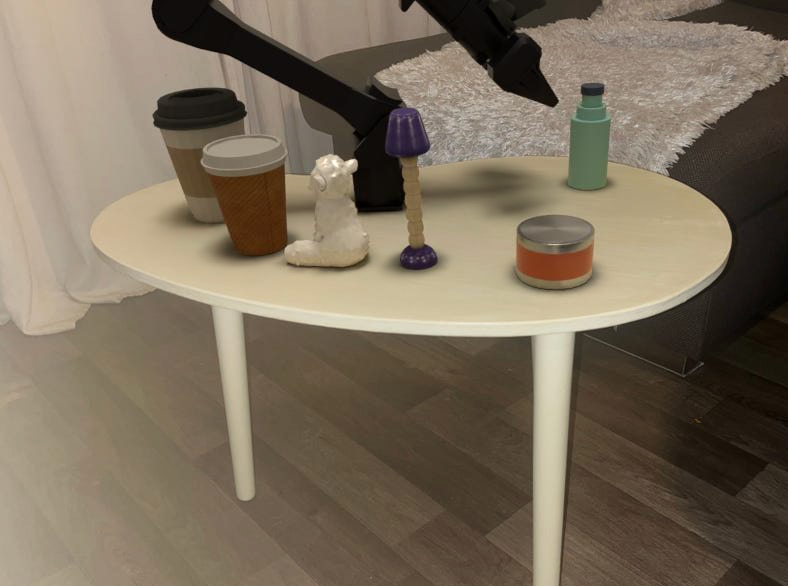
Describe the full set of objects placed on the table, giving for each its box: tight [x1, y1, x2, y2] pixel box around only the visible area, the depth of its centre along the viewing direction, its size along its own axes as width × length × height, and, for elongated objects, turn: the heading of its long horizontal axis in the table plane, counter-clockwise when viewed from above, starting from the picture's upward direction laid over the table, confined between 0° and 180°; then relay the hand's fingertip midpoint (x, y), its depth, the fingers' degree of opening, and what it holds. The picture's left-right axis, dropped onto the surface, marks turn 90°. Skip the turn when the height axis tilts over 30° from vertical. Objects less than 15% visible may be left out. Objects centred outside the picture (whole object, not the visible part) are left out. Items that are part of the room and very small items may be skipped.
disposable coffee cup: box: [201, 133, 288, 256], centre depth 87 cm, size 10×10×12 cm
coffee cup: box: [152, 87, 249, 224], centre depth 96 cm, size 11×11×15 cm
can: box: [515, 214, 596, 290], centre depth 80 cm, size 8×8×5 cm
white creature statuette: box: [284, 153, 371, 268], centre depth 83 cm, size 10×9×12 cm
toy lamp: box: [385, 107, 438, 270], centre depth 80 cm, size 5×5×17 cm
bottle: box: [567, 82, 612, 191], centre depth 100 cm, size 5×5×13 cm
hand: (546, 95), depth 97 cm, fingers open, 9 cm apart
